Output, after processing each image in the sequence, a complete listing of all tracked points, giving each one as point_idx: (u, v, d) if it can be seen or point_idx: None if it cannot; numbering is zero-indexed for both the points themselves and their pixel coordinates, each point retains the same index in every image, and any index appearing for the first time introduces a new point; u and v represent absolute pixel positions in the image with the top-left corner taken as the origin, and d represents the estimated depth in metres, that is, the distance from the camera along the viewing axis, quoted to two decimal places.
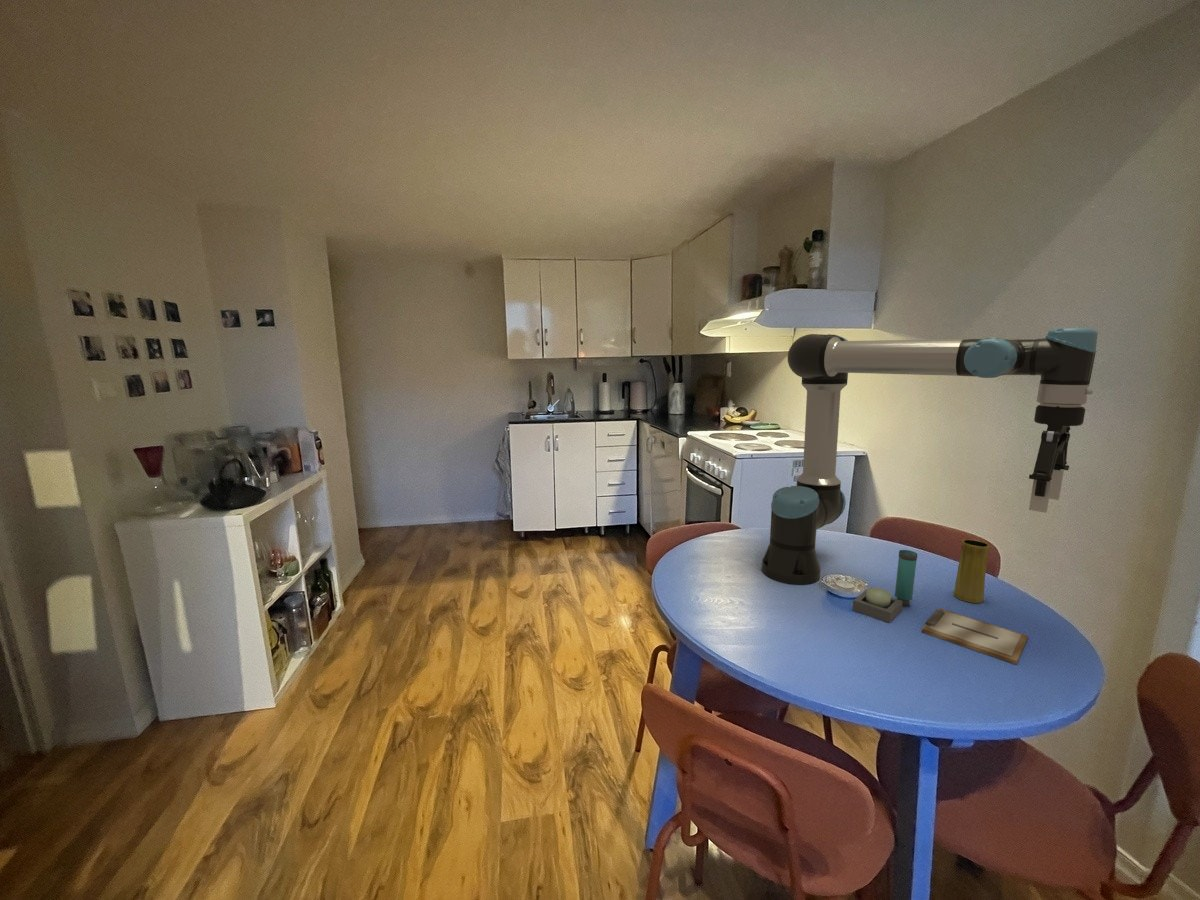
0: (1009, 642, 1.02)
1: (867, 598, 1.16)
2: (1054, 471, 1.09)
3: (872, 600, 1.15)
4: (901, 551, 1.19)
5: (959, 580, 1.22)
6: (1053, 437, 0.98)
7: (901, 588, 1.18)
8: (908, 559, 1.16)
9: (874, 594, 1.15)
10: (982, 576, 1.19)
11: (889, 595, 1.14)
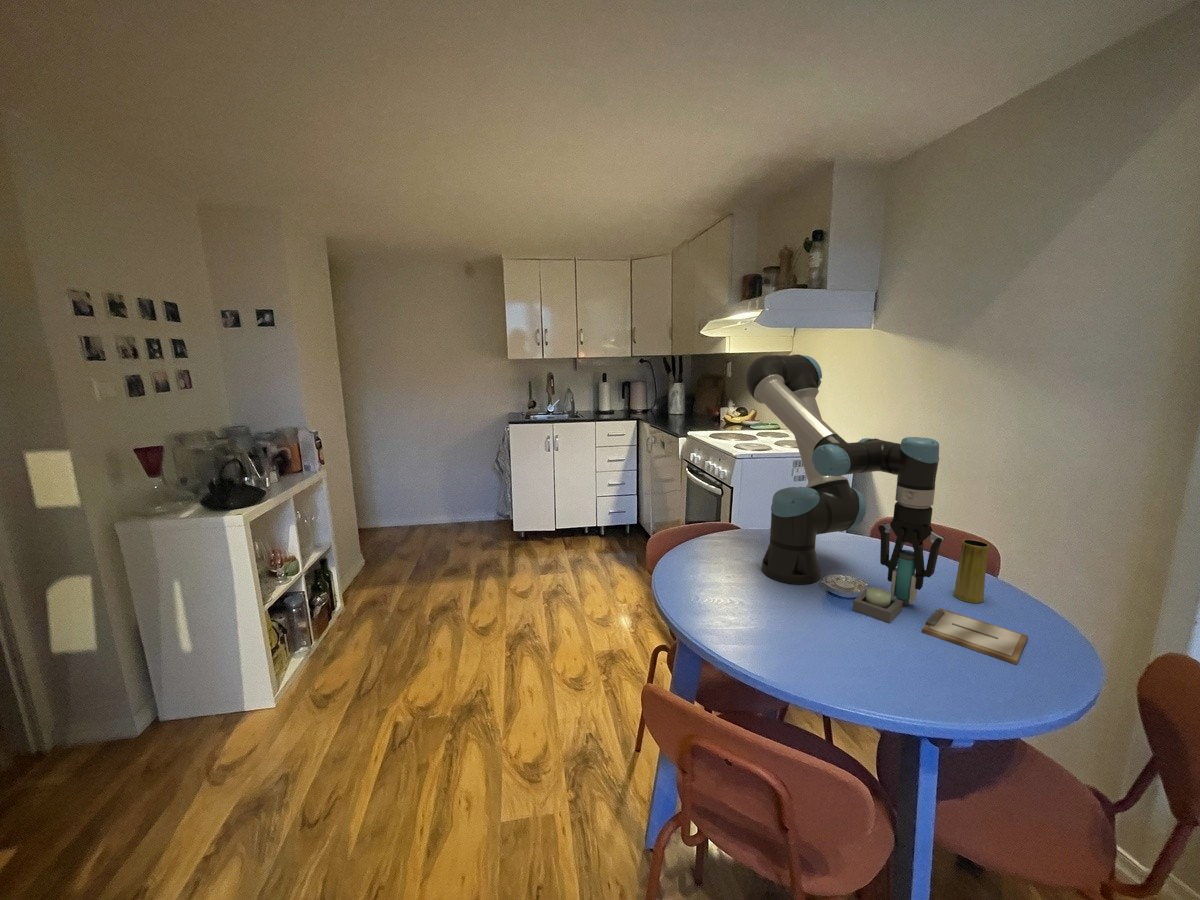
0: (1009, 642, 1.02)
1: (867, 598, 1.16)
2: None
3: (872, 600, 1.15)
4: (901, 551, 1.19)
5: (959, 580, 1.22)
6: None
7: (901, 588, 1.18)
8: (908, 559, 1.16)
9: (874, 594, 1.15)
10: (982, 576, 1.19)
11: (889, 595, 1.14)
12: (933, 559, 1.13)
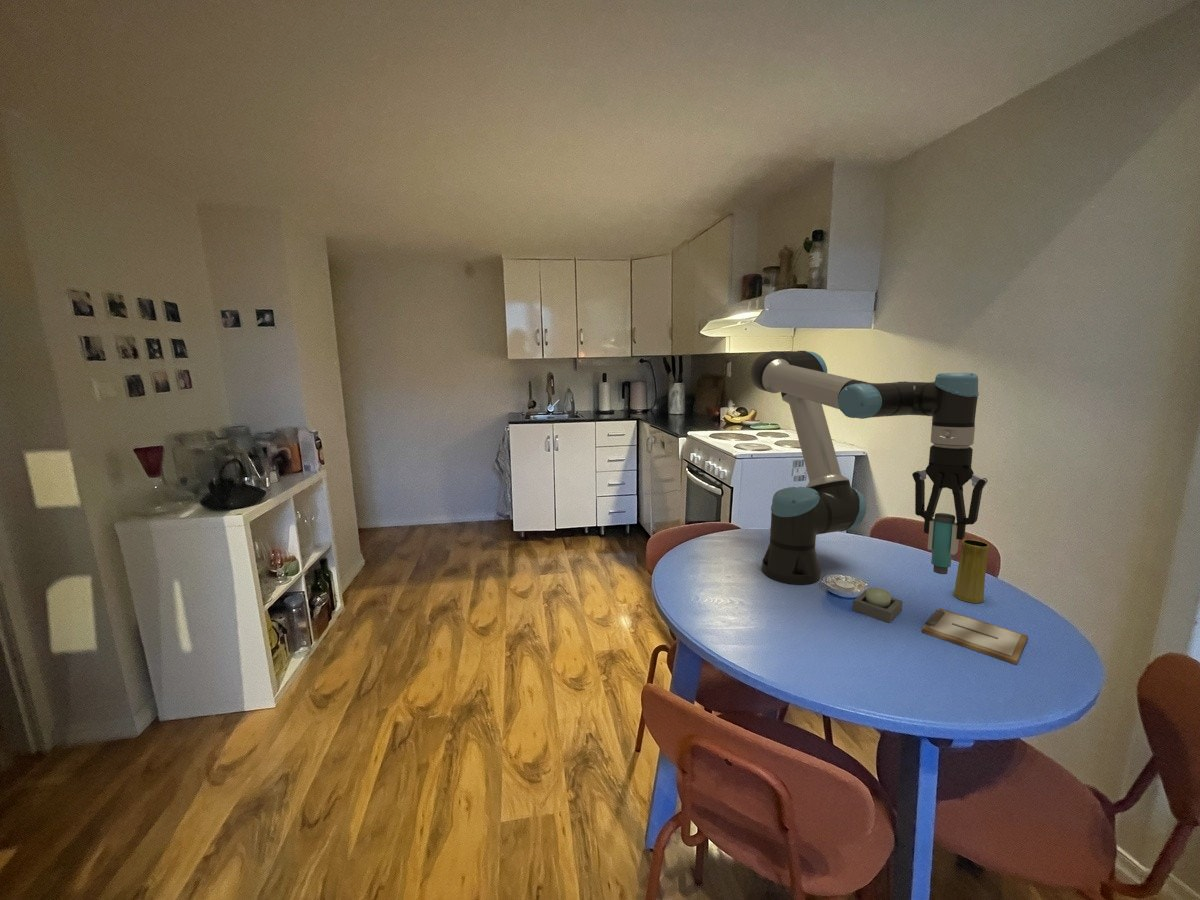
0: (1009, 642, 1.02)
1: (867, 598, 1.16)
2: None
3: (872, 600, 1.15)
4: (937, 514, 1.09)
5: (959, 580, 1.22)
6: None
7: (938, 554, 1.09)
8: (946, 522, 1.07)
9: (874, 594, 1.15)
10: (982, 576, 1.19)
11: (889, 595, 1.14)
12: (976, 503, 1.03)
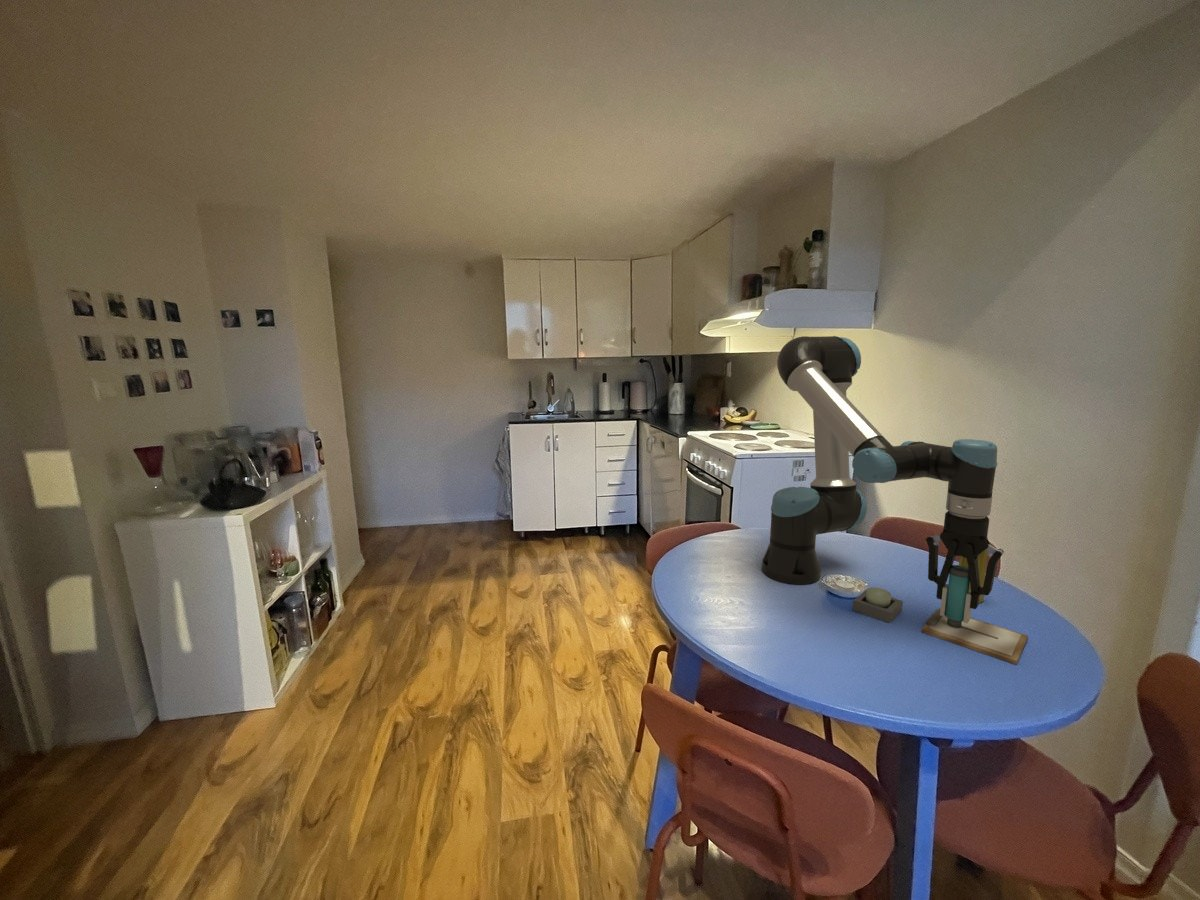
0: (1009, 642, 1.02)
1: (867, 598, 1.16)
2: (967, 593, 1.06)
3: (872, 600, 1.15)
4: (952, 567, 1.07)
5: None
6: None
7: (953, 608, 1.07)
8: (962, 576, 1.05)
9: (874, 594, 1.15)
10: (982, 576, 1.19)
11: (889, 595, 1.14)
12: (991, 575, 1.01)
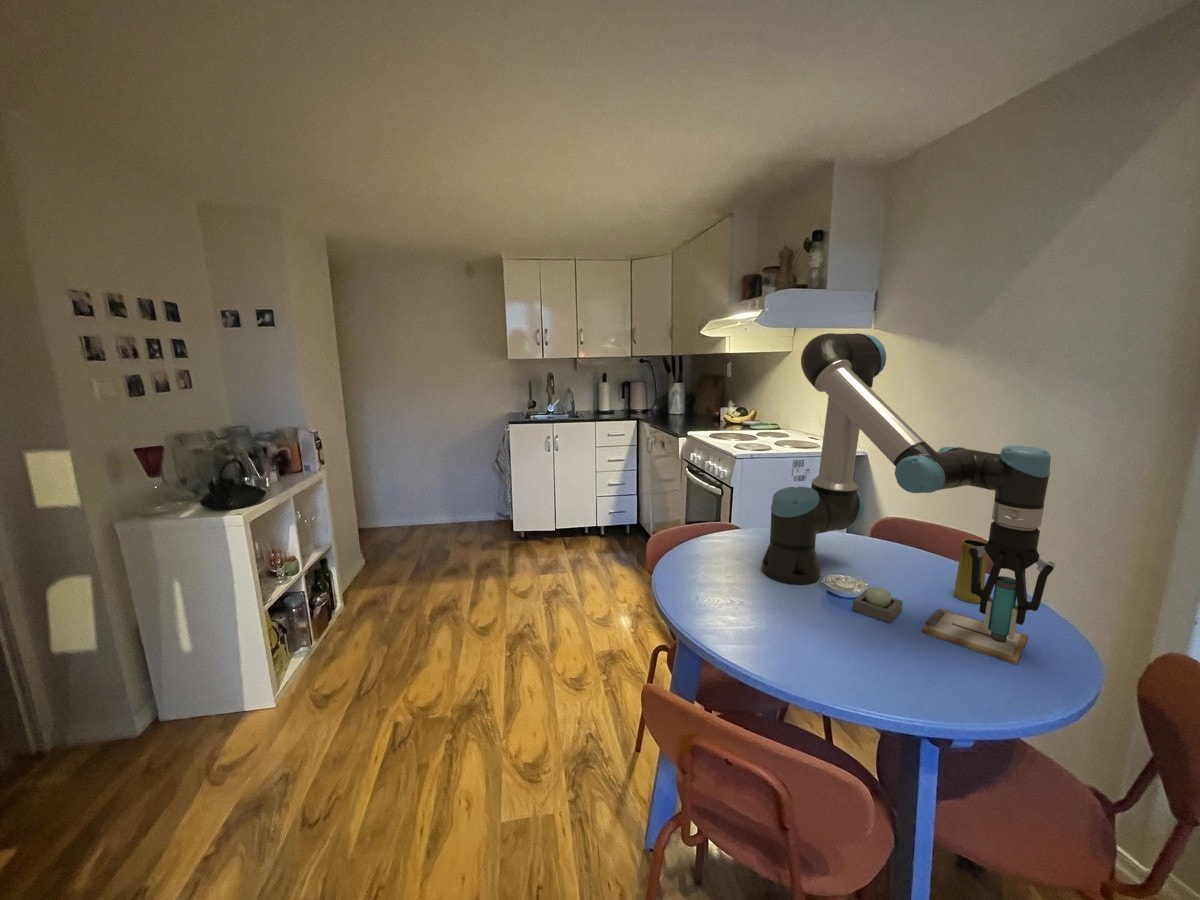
0: (1009, 642, 1.02)
1: (867, 598, 1.16)
2: None
3: (872, 600, 1.15)
4: (998, 578, 1.01)
5: (959, 580, 1.22)
6: None
7: (999, 621, 1.01)
8: (1009, 588, 0.99)
9: (874, 594, 1.15)
10: (982, 576, 1.19)
11: (889, 595, 1.14)
12: (1041, 590, 0.96)
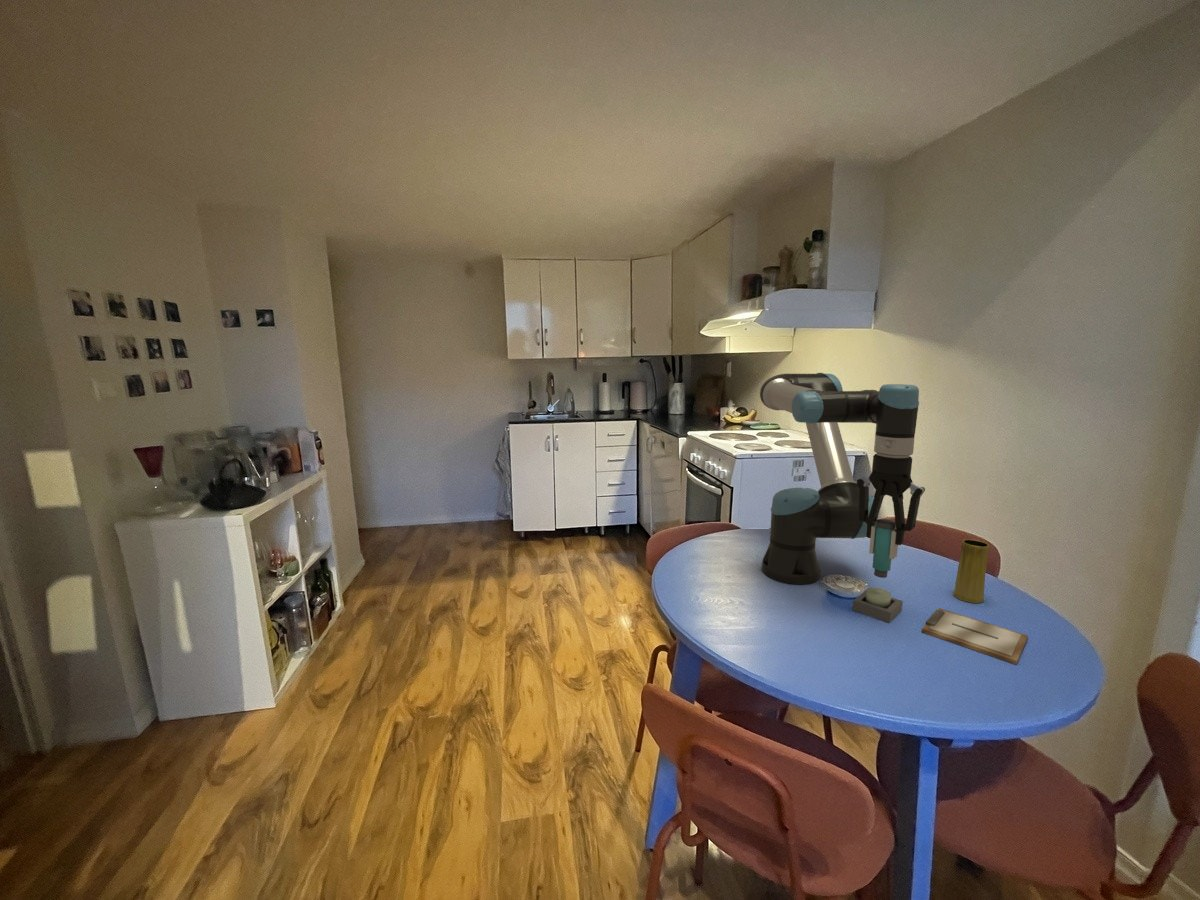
0: (1009, 642, 1.02)
1: (867, 598, 1.16)
2: None
3: (872, 600, 1.15)
4: (879, 520, 1.14)
5: (959, 580, 1.22)
6: None
7: (879, 558, 1.13)
8: (887, 528, 1.11)
9: (874, 594, 1.15)
10: (982, 576, 1.19)
11: (889, 595, 1.14)
12: (913, 511, 1.07)
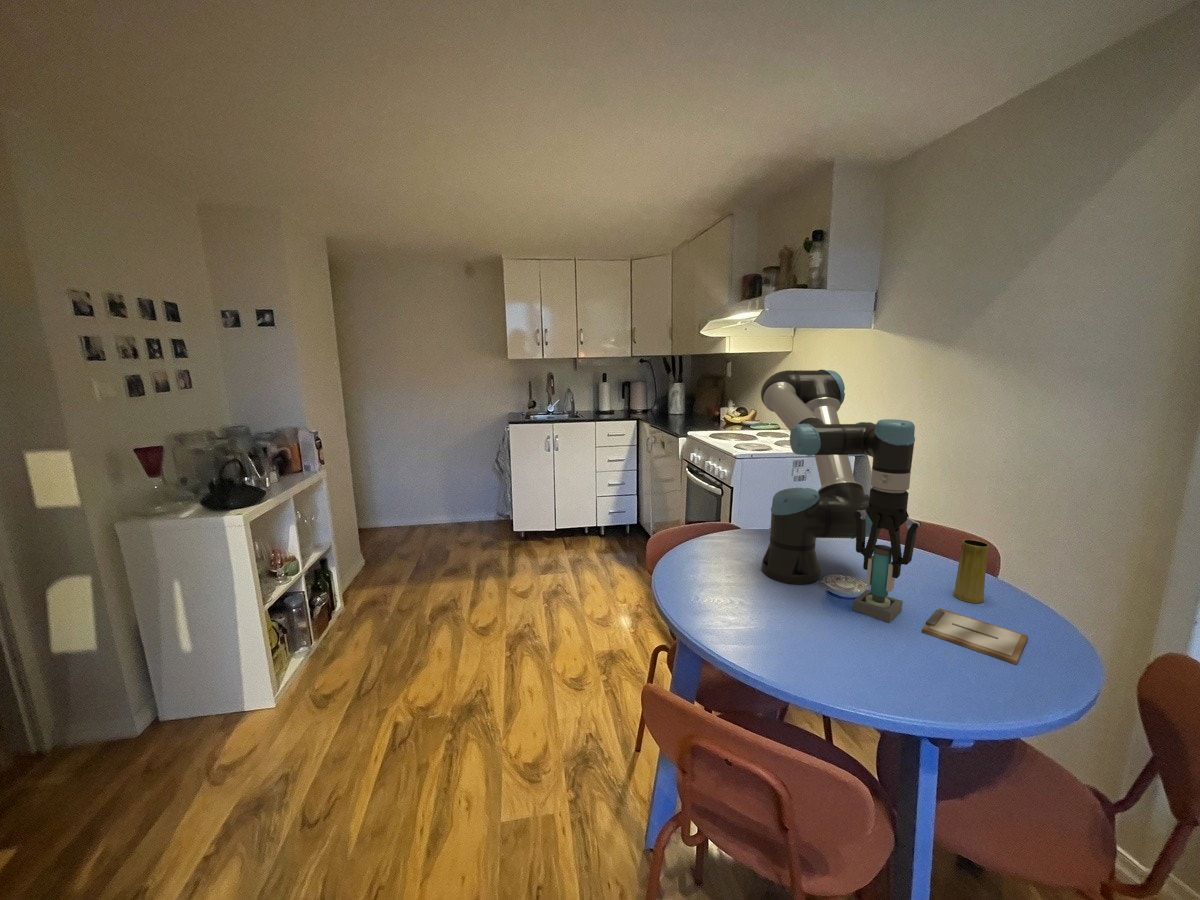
0: (1009, 642, 1.02)
1: None
2: None
3: None
4: (876, 546, 1.15)
5: (959, 580, 1.22)
6: None
7: (876, 584, 1.14)
8: (884, 554, 1.12)
9: (874, 601, 1.16)
10: (982, 576, 1.19)
11: (888, 602, 1.15)
12: (910, 545, 1.09)
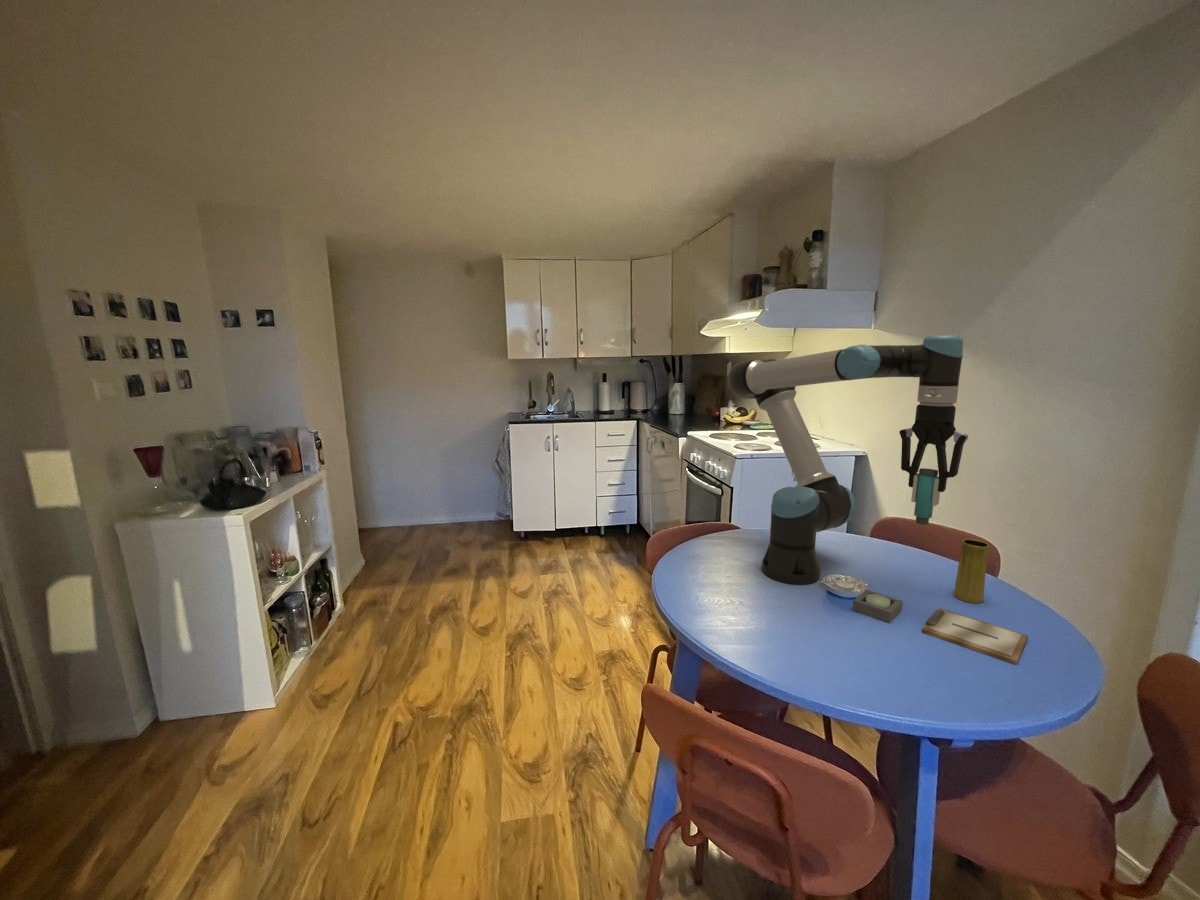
0: (1009, 642, 1.02)
1: None
2: None
3: None
4: (921, 469, 1.17)
5: (959, 580, 1.22)
6: None
7: (922, 506, 1.17)
8: (931, 475, 1.15)
9: (874, 600, 1.15)
10: (982, 576, 1.19)
11: (888, 602, 1.15)
12: (957, 458, 1.11)
